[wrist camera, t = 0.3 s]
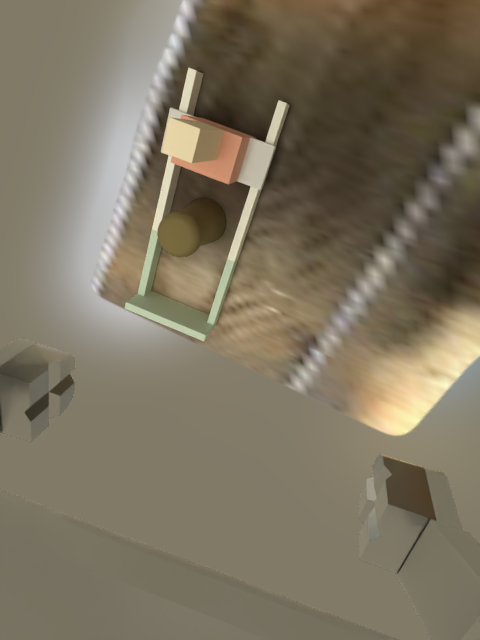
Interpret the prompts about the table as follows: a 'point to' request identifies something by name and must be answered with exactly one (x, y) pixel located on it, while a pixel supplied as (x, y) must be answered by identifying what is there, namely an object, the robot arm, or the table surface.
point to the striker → (216, 150)
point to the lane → (146, 299)
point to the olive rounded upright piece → (191, 227)
